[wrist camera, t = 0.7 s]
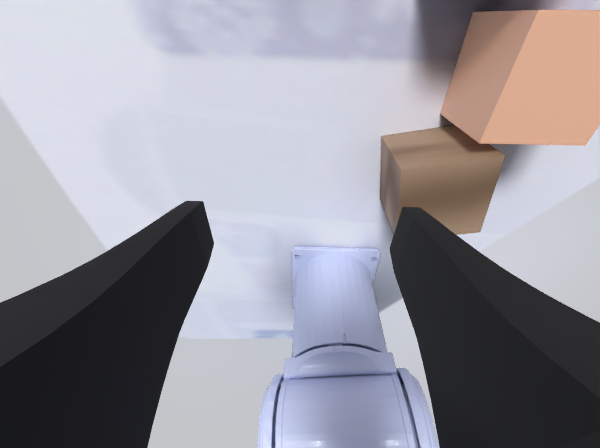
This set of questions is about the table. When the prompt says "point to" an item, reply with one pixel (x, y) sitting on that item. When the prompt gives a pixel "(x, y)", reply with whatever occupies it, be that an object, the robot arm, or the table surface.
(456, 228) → the walnut block
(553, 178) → the table surface
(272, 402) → the robot arm
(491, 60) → the terracotta block
